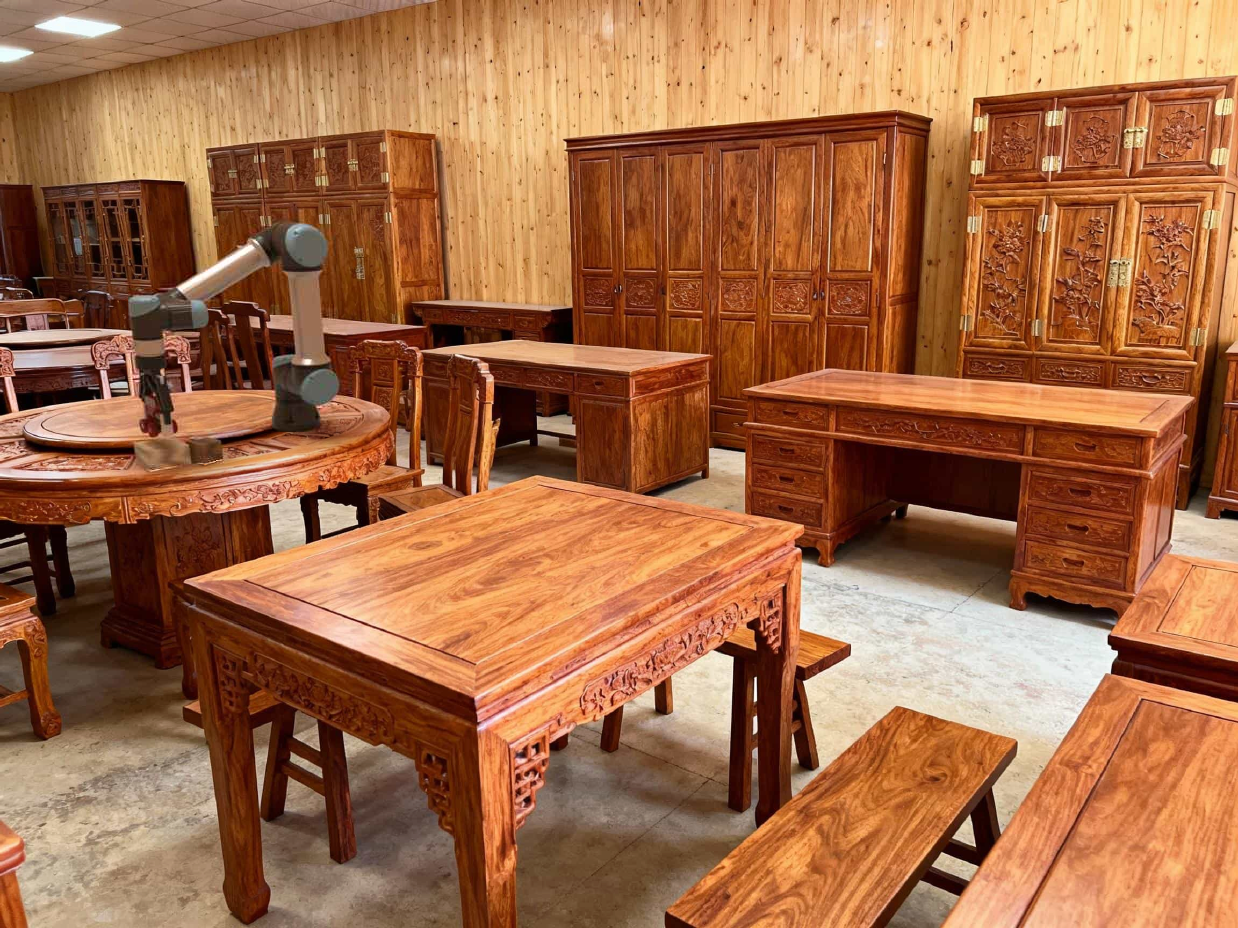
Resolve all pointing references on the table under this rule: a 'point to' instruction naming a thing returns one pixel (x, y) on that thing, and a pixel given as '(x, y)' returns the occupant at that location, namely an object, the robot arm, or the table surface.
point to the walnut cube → (205, 450)
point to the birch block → (162, 453)
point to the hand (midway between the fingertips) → (159, 430)
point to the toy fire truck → (153, 418)
